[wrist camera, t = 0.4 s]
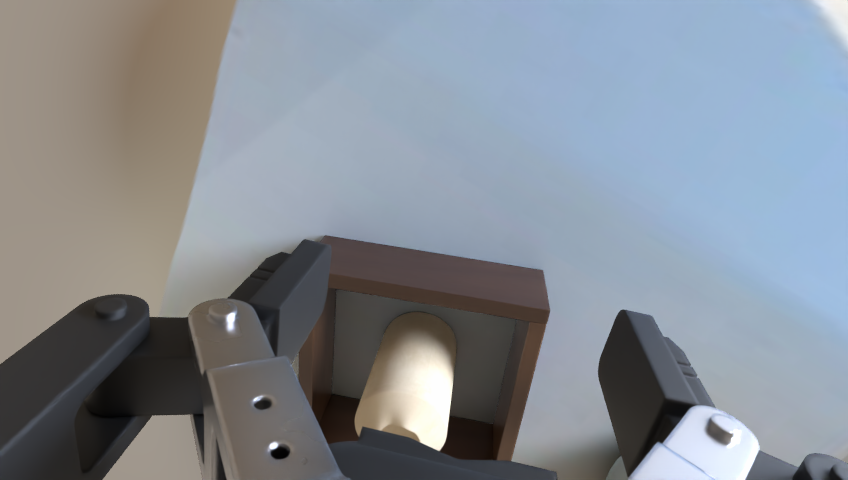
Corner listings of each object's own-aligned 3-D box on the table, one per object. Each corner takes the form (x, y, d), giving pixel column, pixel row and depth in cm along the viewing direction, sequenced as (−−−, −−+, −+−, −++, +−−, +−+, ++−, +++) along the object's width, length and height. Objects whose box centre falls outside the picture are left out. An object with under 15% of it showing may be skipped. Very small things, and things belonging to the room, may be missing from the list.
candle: (371, 350, 38) (332, 455, 29) (405, 297, 36) (374, 394, 27) (434, 383, 39) (415, 497, 30) (471, 334, 36) (463, 440, 27)
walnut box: (324, 235, 35) (298, 268, 30) (543, 270, 33) (550, 310, 29) (319, 401, 41) (297, 449, 36) (503, 435, 40) (503, 489, 35)
